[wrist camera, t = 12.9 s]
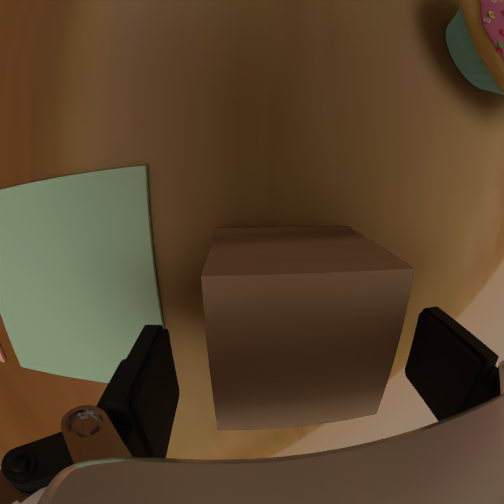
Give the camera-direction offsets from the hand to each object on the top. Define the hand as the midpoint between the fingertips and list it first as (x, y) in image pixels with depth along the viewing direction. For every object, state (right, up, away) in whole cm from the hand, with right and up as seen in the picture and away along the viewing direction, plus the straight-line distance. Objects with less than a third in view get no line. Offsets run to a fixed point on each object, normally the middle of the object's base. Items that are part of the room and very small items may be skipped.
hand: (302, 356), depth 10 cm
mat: (-12, +2, +4) cm, 13 cm away
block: (0, +2, +4) cm, 5 cm away
